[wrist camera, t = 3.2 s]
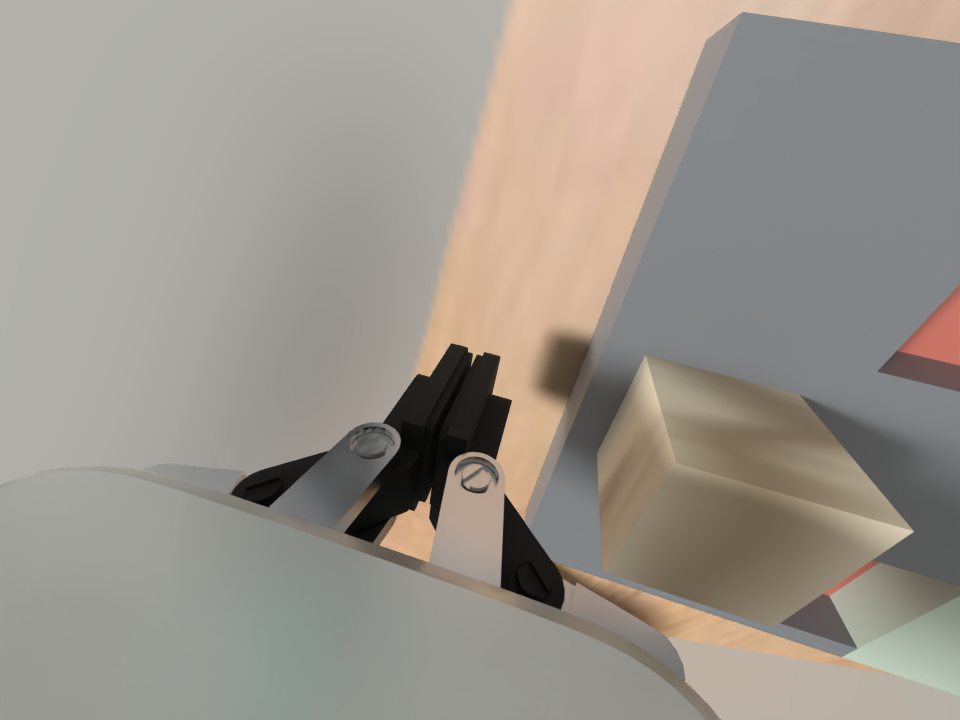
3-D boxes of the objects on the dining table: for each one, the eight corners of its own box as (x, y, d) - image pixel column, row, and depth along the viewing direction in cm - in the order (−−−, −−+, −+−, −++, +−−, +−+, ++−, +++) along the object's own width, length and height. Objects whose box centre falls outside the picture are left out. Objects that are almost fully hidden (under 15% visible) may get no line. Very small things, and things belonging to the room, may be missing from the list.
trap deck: (1939, 230, 7) (2554, 272, 5) (965, 647, 18) (1016, 714, 16) (706, 40, 9) (741, 12, 7) (526, 508, 20) (520, 550, 18)
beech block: (798, 394, 11) (914, 531, 7) (719, 489, 13) (773, 627, 9) (645, 354, 11) (676, 463, 7) (596, 453, 14) (601, 571, 10)
